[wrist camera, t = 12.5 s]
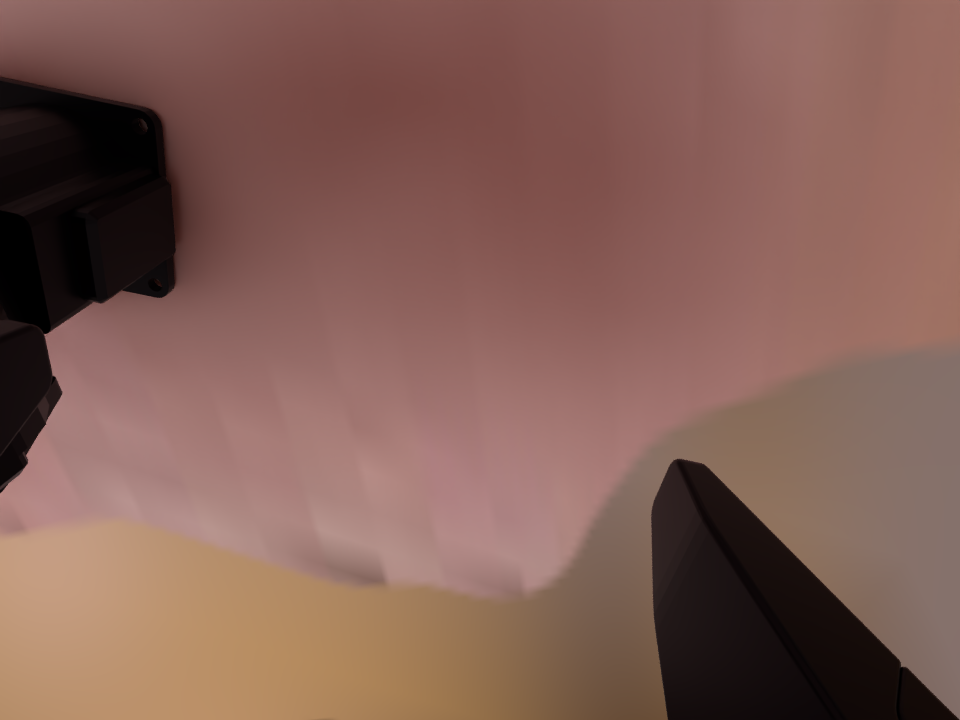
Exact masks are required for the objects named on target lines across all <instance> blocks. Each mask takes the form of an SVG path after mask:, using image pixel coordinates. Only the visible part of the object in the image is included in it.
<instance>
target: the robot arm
mask: <svg viewBox="0 0 960 720" xmlns="http://www.w3.org/2000/svg"><path fill="white" fill-rule="evenodd" d="M139 118H141V119H143V120H144V121H145V122H146V124H147V127H148V129H147V132H146V131H144V130H143V129H142V128H141V127H140V125H139ZM175 251H176V248H175V235H174V222H173V208H172V195H171V185H170V183H169V182H168V180H167V178H166V169H165V157H164V144H163V132H162V125H161V121H160V119H159V117H158V116H157V114H155V113H154V112H153V111H152V110H150V109H148V108H146V107H141V106H136V105H132V104H127V103H122V102H117V101H113V100H108V99H103V98H98V97H93V96H89V95H84V94H79V93H74V92H70V91H65V90H60V89H55V88H50V87H46V86H41V85H36V84H31V83H26V82H22V81H17V80H12V79H7V78H3V77H0V493H1V492H2V491H3V490H4V489H5V487H6V486H7V485H8V483H10V482H11V481H12V480H13V479H15V478H16V477H17V476H18V475H20V473H21V472H22V471H23V469H24V468H25V466H26V465H27V464H28V459H27V457H26V454H27V453H28V451H29V449H30V448H31V446H32V444H33V443H34V441H35V439H36V438H37V436H38V434H39V433H40V431H41V430H42V429H43V427H44V426H45V425H46V421H47V419H48V417H49V416H50V414H51V412H52V411H53V409H54V407H55V405H56V404H57V402H58V400H59V399H60V397H61V395H62V390H61V388H60V386H59V384H58V382H57V379H56V377H54V376H53V375H52V369H51V364H50V360H49V355H48V350H47V345H46V340H45V336H44V334H47V333H49V332H50V331H52V330H53V329H55V328H56V327H58V326H59V325H61V324H62V323H64V322H65V321H67V320H68V319H69V318H71V317H72V316H74V315H75V314H77V313H78V312H80V311H81V310H83V309H84V308H86V307H87V306H89V305H90V304H92V303H93V302H96V303H104V302H106V301H107V300H109V299H110V298H112V297H113V296H114V295H116V294H117V293H119V292H120V291H122V290H123V291H127V292H132V293H137V294H142V295H147V296H152V297H157V298H162V297H164V296H166V295H167V294H169V293H170V292H171V291H172V290H173V289H174V284H175V282H174V269H173V257H172V255H173V254H174V253H175ZM154 278H155V279H157V280H159V281H160V283H161V284H162V287H160V286H158V285H157V284H156V283H155V280H154ZM651 523H652V525H651V527H652V574H653V608H654V620H655V621H654V622H655V630H656V638H657V645H658V652H659V659H660V667H661V674H662V681H663V688H664V695H665V702H666V709H667V717H668V720H959V719H958V718H957V717H956V716H955V715H954V714H953V713H952V712H951V711H950V710H949V709H948V708H947V707H946V706H945V705H944V704H943V703H942V702H941V701H940V700H939V699H938V698H937V697H936V696H935V695H934V694H933V693H932V692H931V691H930V690H929V689H928V688H927V687H926V686H925V685H924V684H923V683H922V682H921V681H920V680H919V679H918V678H917V677H916V676H915V675H914V674H913V673H912V672H911V671H910V670H909V669H908V668H906V667H901V662H900V660H899V659H898V658H897V657H896V656H895V655H894V654H892V652H891V651H890V650H889V649H888V648H887V647H886V646H885V645H884V644H883V643H882V642H881V641H880V640H879V639H878V638H877V637H876V636H875V635H874V634H873V633H872V632H871V631H870V630H869V629H868V628H867V627H866V626H865V625H864V624H863V623H862V622H861V621H860V620H859V619H858V618H857V617H856V616H855V615H854V614H853V613H852V612H851V611H850V610H849V609H848V608H847V607H846V606H845V605H844V604H843V603H842V602H841V601H840V600H839V599H838V598H837V597H836V596H835V595H834V594H833V593H832V592H831V591H830V590H829V589H828V588H827V587H826V586H825V585H824V584H823V583H822V582H821V581H820V580H819V579H818V578H817V577H816V576H815V575H814V574H813V573H812V572H811V571H810V570H809V569H808V568H807V567H806V566H805V565H804V564H803V563H802V562H801V561H800V560H799V559H798V558H797V557H796V556H795V555H794V554H793V553H792V552H791V551H790V550H789V549H788V548H787V547H786V546H785V545H784V544H783V543H782V542H781V541H780V540H779V539H778V538H777V537H776V536H775V535H774V534H773V533H772V532H771V531H770V530H769V529H768V528H767V527H766V526H765V525H764V523H763V522H762V521H760V519H759V518H757V516H756V515H755V514H754V513H752V511H751V510H749V509H748V507H747V506H746V505H745V504H744V503H743V502H742V501H741V500H740V499H739V498H738V497H736V495H735V494H734V493H733V492H731V490H730V489H729V488H727V486H726V485H725V484H724V483H723V482H722V481H721V480H720V479H719V478H718V477H717V476H716V475H715V474H714V473H713V472H712V471H711V470H710V469H709V468H708V467H707V466H705V465H704V464H702V463H698V462H693V461H688V460H683V459H676V460H674V461H673V462H672V463H671V464H670V466H669V468H668V470H667V473H666V475H665V477H664V479H663V482H662V484H661V486H660V489H659V491H658V493H657V495H656V497H655V500H654V503H653V507H652V514H651Z"/></svg>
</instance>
